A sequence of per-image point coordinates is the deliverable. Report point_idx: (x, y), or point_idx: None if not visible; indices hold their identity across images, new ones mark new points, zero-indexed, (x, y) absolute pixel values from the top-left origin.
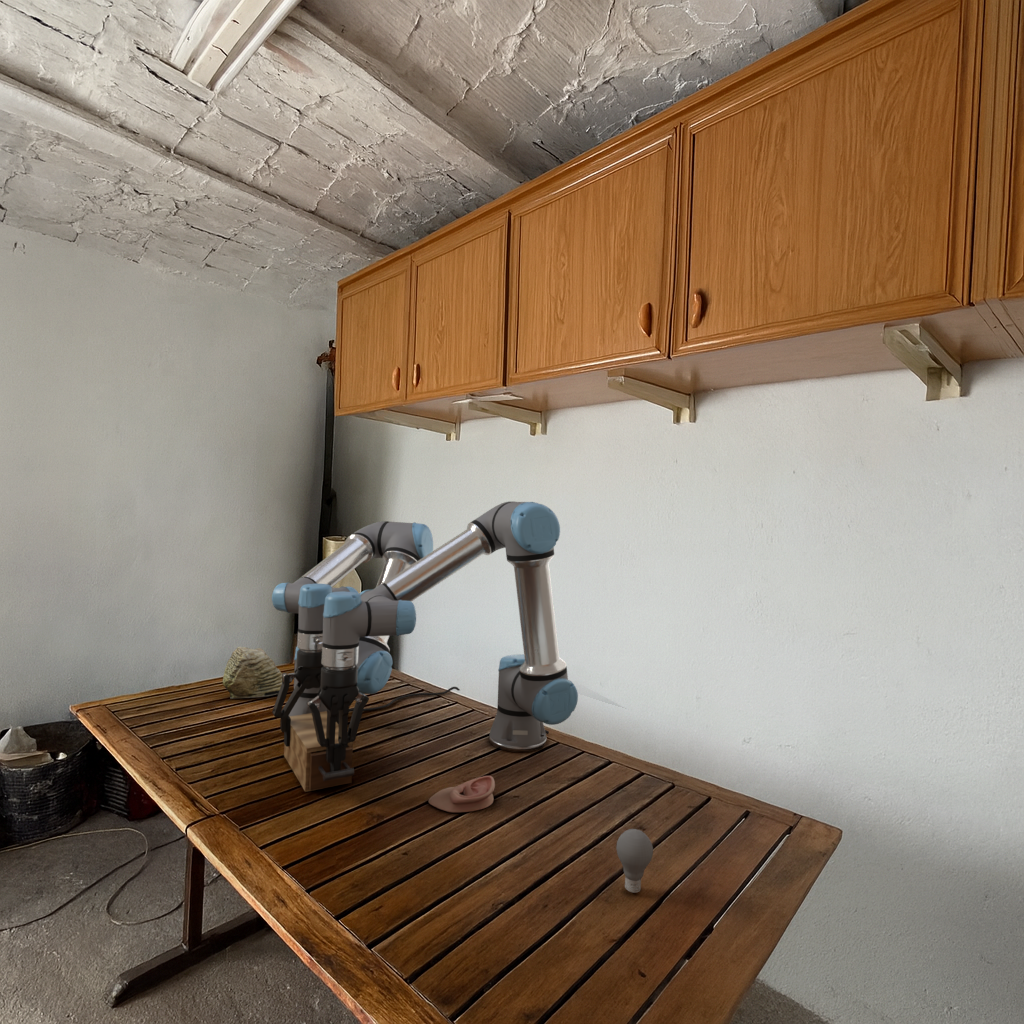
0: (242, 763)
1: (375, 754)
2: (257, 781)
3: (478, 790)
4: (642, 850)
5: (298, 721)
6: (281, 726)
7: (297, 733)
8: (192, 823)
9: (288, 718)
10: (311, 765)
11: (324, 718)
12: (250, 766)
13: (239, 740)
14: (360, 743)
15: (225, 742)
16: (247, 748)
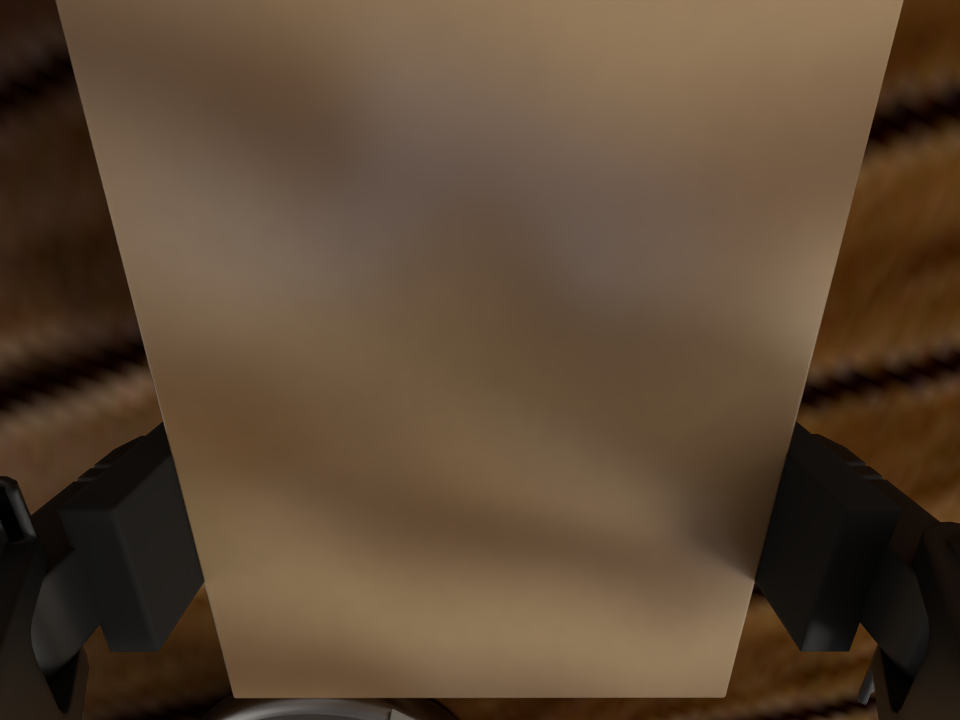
0: (861, 441)
1: (3, 215)
2: (918, 111)
3: None
4: None
5: (648, 521)
6: (878, 474)
7: (889, 3)
8: None
9: (872, 531)
10: None
11: (293, 500)
12: (842, 380)
13: (745, 708)
14: (108, 443)
15: (812, 709)
16: (750, 613)
